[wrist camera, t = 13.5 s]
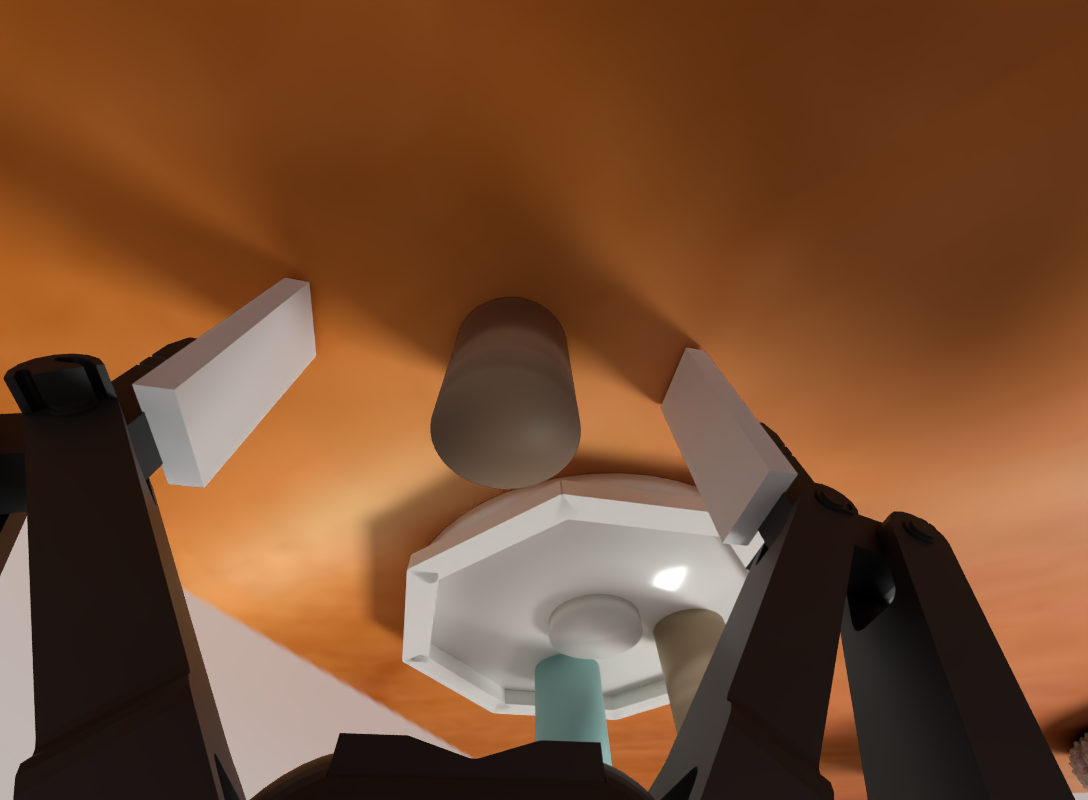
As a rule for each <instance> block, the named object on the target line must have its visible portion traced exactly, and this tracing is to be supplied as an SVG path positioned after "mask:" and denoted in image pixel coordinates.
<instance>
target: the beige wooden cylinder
mask: <svg viewBox="0 0 1088 800" xmlns="http://www.w3.org/2000/svg"><path fill="white" fill-rule="evenodd" d="M725 625H726V624H725V622H724V619H723V618H722V616H721V615H719V614H718V613H716V612H714V611H711V610H707V609H687V610H682V611H678V612H675V613H673V614H670V615H668V616H666V617H665V618H663V619H662V620H660V621H659V622H658V623H657V624H656V626H655V628H654V631H653V634H654V639H655V643H656V647H657V651H658V655H659V660H660V664H661V668H662V672H663V676H664V680H665V685H666V689H667V693H668V697H669V701H670V705H671V710H672V714H673V718H674V722H675V726H676V730H677V735H678V733H679V731H680V728H681V726H682V724H683V721H684V719H685V717H686V714H687V712H688V710H689V708H690V705H691V703H692V701H693V698H694V696H695V694H696V692H697V689H698V687H699V685H700V682H701V680H702V678H703V676H704V673H705V671H706V669H707V666H708V664H709V662H710V660H711V657H712V655H713V653H714V650H715V648H716V646H717V644H718V641H719V639H720V637H721V634H722V632H723V630H724V627H725Z"/></svg>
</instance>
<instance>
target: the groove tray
mask: <svg viewBox="0 0 1088 800" xmlns="http://www.w3.org/2000/svg"><path fill="white" fill-rule="evenodd" d="M763 543H764V540H763V538H762V537H761V535H760V533H759V531H758V532H757V533H756V535H755V536H754V538H753V539H752V541H751V542H750V543H749V545H748V546H744V545H735V544H726V543H722V541H721V539H720V536H719V534H718V532H717V530H716V528H715V526H714V523H713V521H712V519H711V517H710V515H709V512H708V510H707V508H706V506H705V504H704V502H703V499H702V497H701V495H700V493H699V491H698V488H697V487H696V486H692V485H689V484H686V483H683V482H679V481H676V480H671V479H665V478H660V477H655V476H649V475H637V474H624V473H606V474H585V475H577V476H568V477H561V478H556V479H551V480H547V481H544V482H541V483H539V484H536V485H533V486H529V487H524V488H518V489H514V490H511V491H508V492H506V493H503V494H501V495H499V496H497V497H494V498H492V499H490V500H488V501H485V502H483V503H481V504H480V505H478V506H476V507H475V508H473V509H471V510H470V511H468V512H466V513H465V514H463V515H461V516H460V517H459V518H458V519H456V520H455V521H454V522H452V523H451V524H450V525H449V526H447V527H446V528H445V529H444V530H443V531H442V532H441V533H440V534H439V535H438V536H437V537H436V538H435V539H434V540H433V542H432V543H431V544H430V545H429V546H427V547H425V548H423V549H421V550H419V551H417V552H415V553H413V554H412V555H411V557H410V560H409V564H408V568H407V578H406V598H405V618H404V638H403V658H402V661H403V662H404V663H406V664H408V665H410V666H411V667H413V668H415V669H417V670H418V671H420V672H422V673H424V674H425V675H427V676H429V677H431V678H432V679H434V680H436V681H438V682H439V683H441V684H443V685H445V686H446V687H448V688H450V689H452V690H453V691H455V692H457V693H459V694H460V695H462V696H464V697H466V698H467V699H469V700H471V701H473V702H474V703H476V704H478V705H480V706H481V707H483V708H485V709H487V710H488V711H490V712H492V713H498V714H517V715H535V667H536V666H537V664H538V663H539V662H541V661H542V660H544V659H546V658H548V657H551V656H554V655H559V654H564V655H567V656H570V657H574V658H579V659H594V660H595V661H596V662H597V663H598V664H599V669H600V677H601V684H602V692H603V700H604V708H605V715H606V719H610V720H616V719H621V718H624V717H627V716H631V715H634V714H637V713H641V712H644V711H647V710H650V709H654V708H657V707H660V706H664V705H667V704H670V701H669V697H668V693H667V689H666V685H665V680H664V676H663V672H662V668H661V664H660V660H659V655H658V651H657V647H656V643H655V639H654V634H653V631H654V628H655V626H656V624H657V623H658V622H659V621H660V620H662V619H663V618H665V617H666V616H668V615H670V614H673V613H675V612H678V611H682V610H687V609H707V610H711V611H714V612H716V613H718V614H719V615H721V616H722V618H723V619H724V622H725V624H726V623H727V621H728V618H729V616H730V614H731V611H732V609H733V607H734V605H735V602H736V600H737V598H738V595H739V593H740V591H741V589H742V586H743V584H744V582H745V579H746V577H747V575H748V573H749V570H747V569H746V567H747V565H748V564H749V563H750V561H751V560H752V559H753V557H754V556H755V554H756V553H757V552H758V550H759V549H760V547H761V546H762V545H763Z"/></svg>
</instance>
